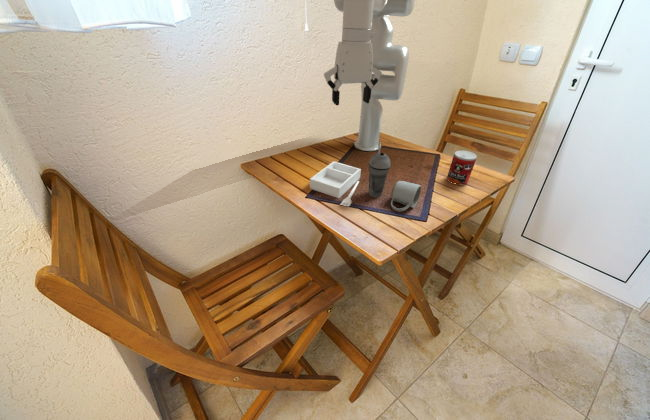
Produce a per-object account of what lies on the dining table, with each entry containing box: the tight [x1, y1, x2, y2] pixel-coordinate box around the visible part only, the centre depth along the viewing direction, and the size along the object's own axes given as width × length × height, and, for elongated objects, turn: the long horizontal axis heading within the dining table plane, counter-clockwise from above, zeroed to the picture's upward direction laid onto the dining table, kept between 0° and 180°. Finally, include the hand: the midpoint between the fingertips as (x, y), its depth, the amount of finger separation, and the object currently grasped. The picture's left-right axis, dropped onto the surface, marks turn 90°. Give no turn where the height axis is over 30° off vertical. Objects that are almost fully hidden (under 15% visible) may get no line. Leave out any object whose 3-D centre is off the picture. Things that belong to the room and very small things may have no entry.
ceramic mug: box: [390, 180, 422, 213], centre depth 95 cm, size 11×8×8 cm
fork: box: [339, 180, 360, 207], centre depth 101 cm, size 3×20×2 cm, turn 159°
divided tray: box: [309, 161, 362, 199], centre depth 106 cm, size 17×12×4 cm
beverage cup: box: [368, 139, 391, 199], centre depth 96 cm, size 7×7×20 cm
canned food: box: [446, 150, 478, 185], centre depth 108 cm, size 8×8×11 cm
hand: (351, 103), depth 85 cm, fingers open, 9 cm apart
